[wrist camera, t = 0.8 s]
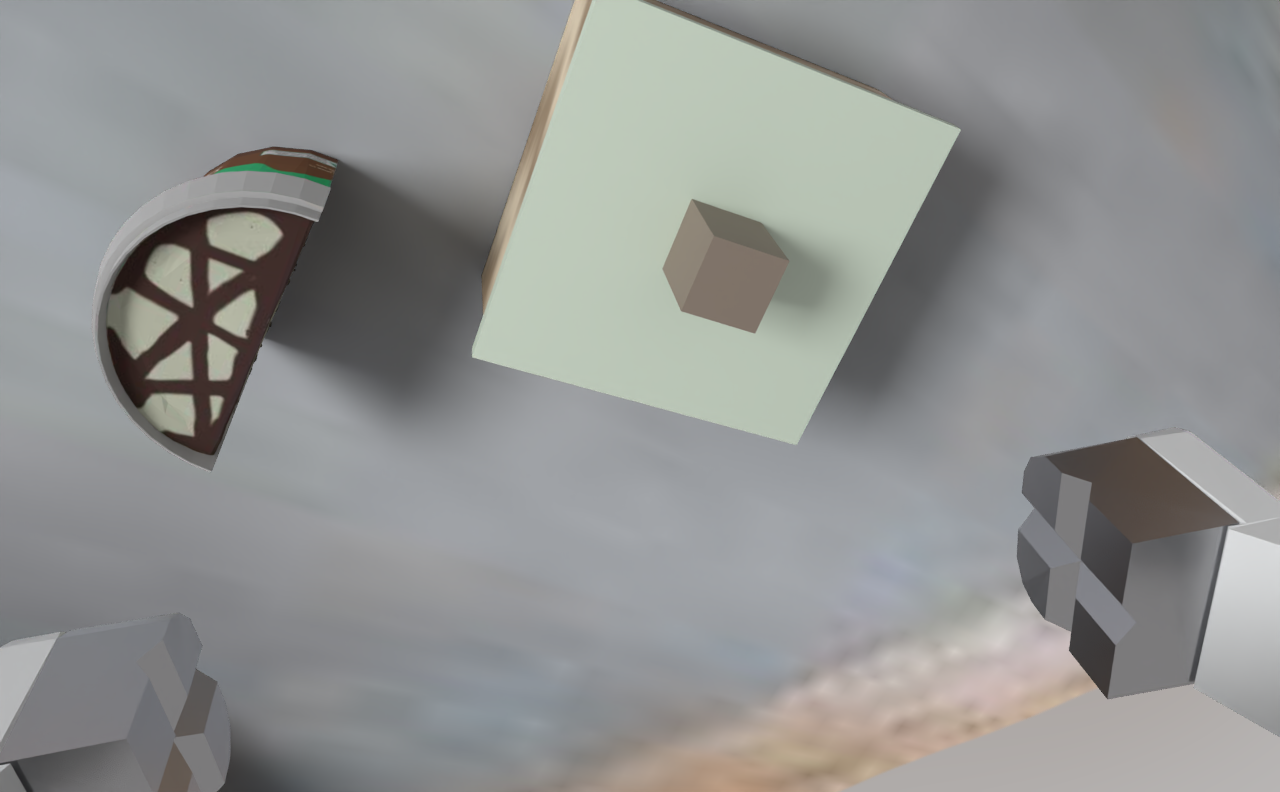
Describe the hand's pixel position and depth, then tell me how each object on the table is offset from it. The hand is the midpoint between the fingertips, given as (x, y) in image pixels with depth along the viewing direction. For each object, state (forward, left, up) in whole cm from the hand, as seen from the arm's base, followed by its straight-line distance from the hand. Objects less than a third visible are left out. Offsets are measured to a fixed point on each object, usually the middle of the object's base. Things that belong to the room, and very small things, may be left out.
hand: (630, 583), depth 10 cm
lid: (+5, +10, -30) cm, 32 cm away
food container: (+13, -8, -37) cm, 40 cm away
